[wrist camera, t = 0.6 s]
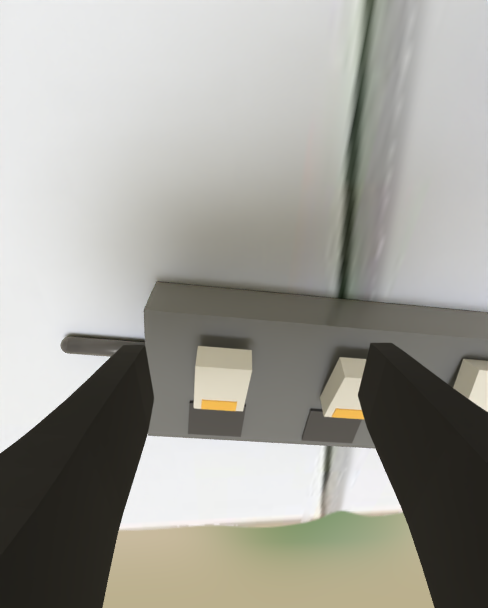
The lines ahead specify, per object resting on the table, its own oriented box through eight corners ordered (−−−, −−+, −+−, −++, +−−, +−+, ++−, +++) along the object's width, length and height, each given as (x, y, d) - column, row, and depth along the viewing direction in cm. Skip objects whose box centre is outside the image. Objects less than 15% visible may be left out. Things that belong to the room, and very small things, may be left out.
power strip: (524, 315, 21) (569, 348, 18) (459, 418, 25) (487, 457, 22) (53, 272, 18) (20, 301, 16) (74, 393, 23) (52, 432, 20)
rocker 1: (251, 349, 16) (252, 371, 15) (242, 391, 19) (243, 412, 18) (198, 345, 16) (195, 367, 15) (195, 388, 19) (193, 409, 18)
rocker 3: (508, 362, 18) (528, 374, 17) (486, 418, 19) (503, 433, 18) (463, 358, 18) (480, 370, 17) (443, 415, 19) (458, 431, 18)
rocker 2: (389, 361, 17) (398, 382, 16) (364, 400, 19) (370, 420, 18) (339, 357, 17) (345, 378, 16) (320, 397, 19) (324, 417, 18)
